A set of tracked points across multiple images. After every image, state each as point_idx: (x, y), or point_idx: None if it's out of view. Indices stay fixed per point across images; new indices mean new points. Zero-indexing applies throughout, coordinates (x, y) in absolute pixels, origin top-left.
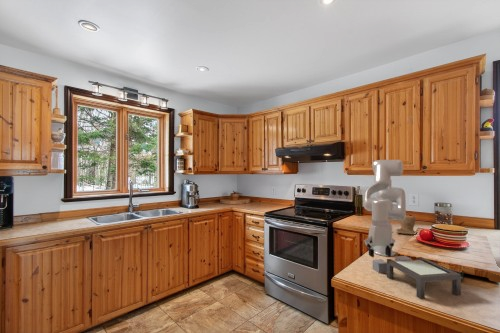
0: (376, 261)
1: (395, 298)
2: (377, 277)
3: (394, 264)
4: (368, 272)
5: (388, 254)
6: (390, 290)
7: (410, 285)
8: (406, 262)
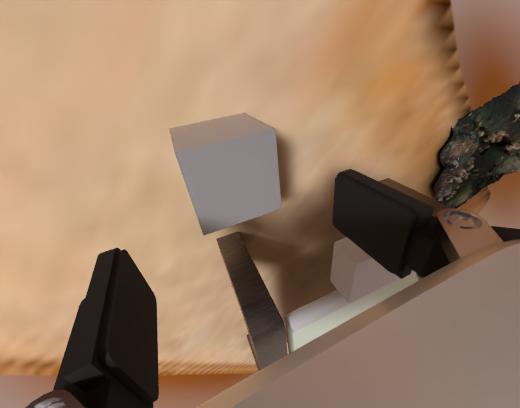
0: (203, 190)
1: (170, 372)
2: (159, 253)
3: (259, 365)
4: (112, 198)
5: (345, 222)
6: (175, 338)
7: (276, 279)
8: (348, 310)
